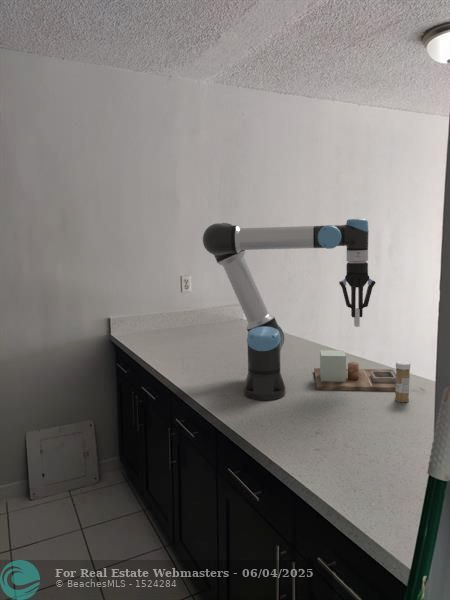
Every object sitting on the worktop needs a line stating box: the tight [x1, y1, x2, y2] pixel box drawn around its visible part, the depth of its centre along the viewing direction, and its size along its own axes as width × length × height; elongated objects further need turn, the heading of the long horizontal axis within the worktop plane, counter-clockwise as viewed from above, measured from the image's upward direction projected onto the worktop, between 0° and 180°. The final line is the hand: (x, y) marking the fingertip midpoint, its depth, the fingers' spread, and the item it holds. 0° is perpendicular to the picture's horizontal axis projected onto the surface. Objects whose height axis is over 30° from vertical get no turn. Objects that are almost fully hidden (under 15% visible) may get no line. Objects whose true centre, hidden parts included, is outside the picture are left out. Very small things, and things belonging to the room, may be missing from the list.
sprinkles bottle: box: [394, 360, 411, 403], centre depth 161 cm, size 5×5×13 cm
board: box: [313, 361, 396, 392], centre depth 183 cm, size 31×22×8 cm
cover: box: [319, 349, 347, 382], centre depth 182 cm, size 9×8×10 cm
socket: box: [370, 371, 396, 383], centre depth 180 cm, size 8×8×2 cm
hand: (356, 325), depth 175 cm, fingers closed
